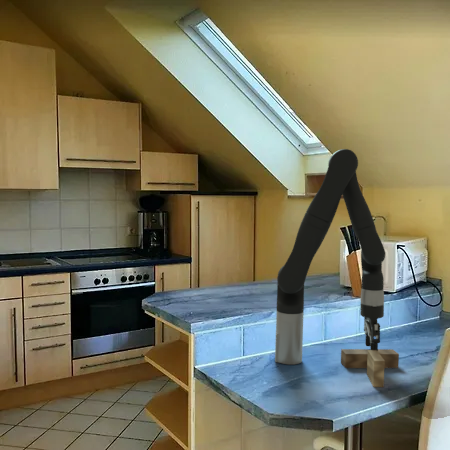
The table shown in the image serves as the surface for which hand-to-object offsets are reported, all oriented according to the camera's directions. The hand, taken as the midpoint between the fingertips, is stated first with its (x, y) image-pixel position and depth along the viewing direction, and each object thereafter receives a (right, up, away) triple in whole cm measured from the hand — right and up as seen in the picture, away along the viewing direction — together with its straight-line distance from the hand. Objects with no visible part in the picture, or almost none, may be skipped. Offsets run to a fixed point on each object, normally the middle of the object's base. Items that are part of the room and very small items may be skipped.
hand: (371, 349), depth 162 cm
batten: (-1, -6, 0) cm, 6 cm away
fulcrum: (-3, -6, -13) cm, 15 cm away
